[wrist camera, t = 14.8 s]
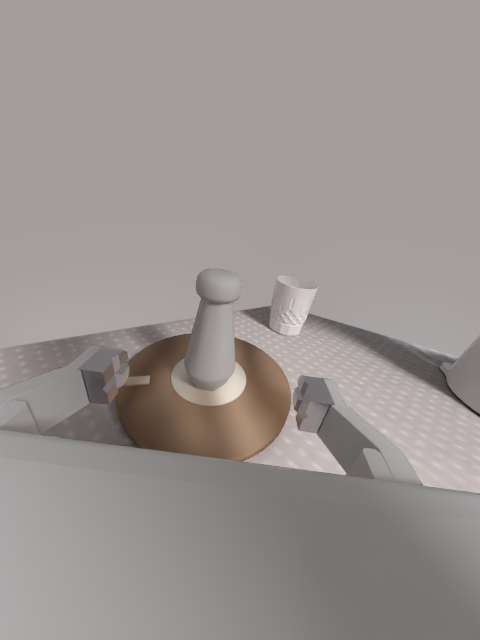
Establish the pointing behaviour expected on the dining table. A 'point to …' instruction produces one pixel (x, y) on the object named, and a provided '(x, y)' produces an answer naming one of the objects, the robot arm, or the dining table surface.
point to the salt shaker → (213, 330)
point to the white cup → (291, 304)
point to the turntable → (203, 403)
